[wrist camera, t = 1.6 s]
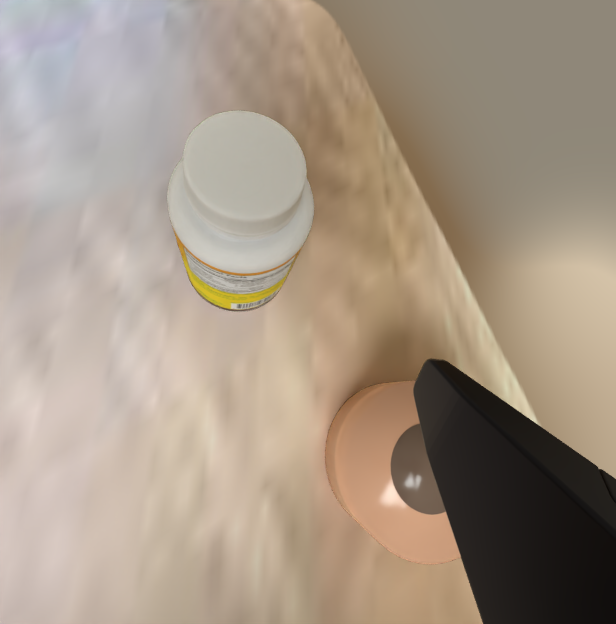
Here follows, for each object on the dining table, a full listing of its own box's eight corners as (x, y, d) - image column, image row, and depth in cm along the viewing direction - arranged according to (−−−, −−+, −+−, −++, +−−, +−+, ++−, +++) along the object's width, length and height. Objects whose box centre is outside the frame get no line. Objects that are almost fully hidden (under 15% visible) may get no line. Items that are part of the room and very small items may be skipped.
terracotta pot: (341, 551, 19) (370, 590, 16) (312, 397, 21) (332, 397, 17) (471, 510, 21) (526, 535, 17) (437, 371, 23) (480, 366, 19)
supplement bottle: (221, 206, 22) (218, 56, 12) (301, 255, 23) (359, 147, 13) (166, 282, 20) (114, 178, 11) (253, 333, 21) (280, 278, 11)
